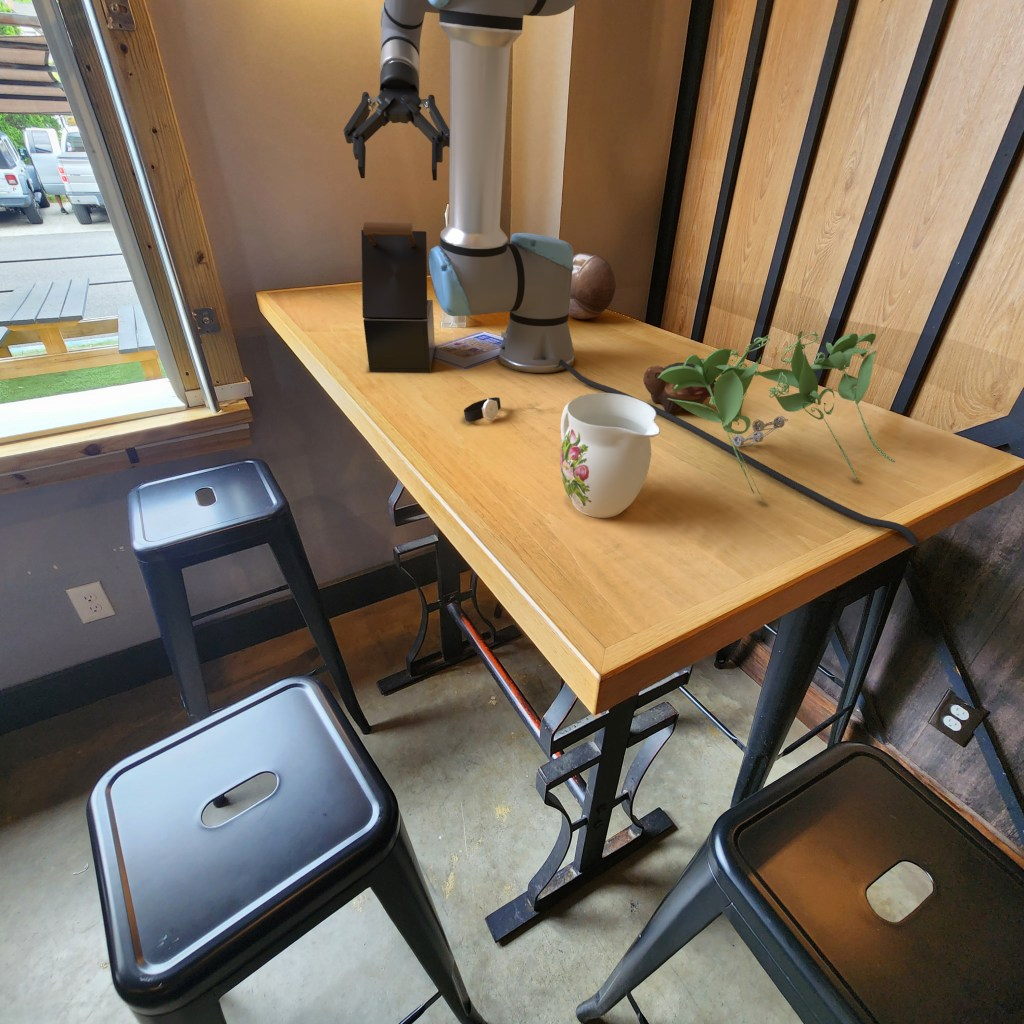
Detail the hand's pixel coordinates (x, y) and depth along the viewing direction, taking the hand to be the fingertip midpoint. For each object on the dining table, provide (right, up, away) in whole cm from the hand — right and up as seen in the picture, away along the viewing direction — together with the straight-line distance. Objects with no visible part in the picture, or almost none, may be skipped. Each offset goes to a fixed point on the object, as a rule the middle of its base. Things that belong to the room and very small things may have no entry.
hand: (398, 174), depth 107 cm
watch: (+17, -48, -13) cm, 52 cm away
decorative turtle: (+51, -45, -7) cm, 68 cm away
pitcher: (+32, -62, -32) cm, 77 cm away
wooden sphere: (+39, -15, +35) cm, 55 cm away
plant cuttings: (+60, -57, -23) cm, 85 cm away
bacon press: (0, -21, -4) cm, 21 cm away
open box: (0, -33, +8) cm, 34 cm away
